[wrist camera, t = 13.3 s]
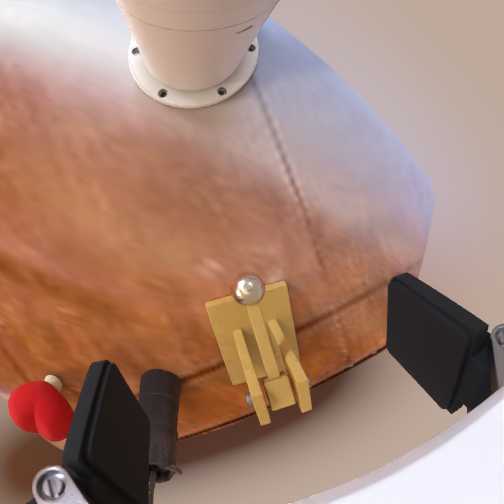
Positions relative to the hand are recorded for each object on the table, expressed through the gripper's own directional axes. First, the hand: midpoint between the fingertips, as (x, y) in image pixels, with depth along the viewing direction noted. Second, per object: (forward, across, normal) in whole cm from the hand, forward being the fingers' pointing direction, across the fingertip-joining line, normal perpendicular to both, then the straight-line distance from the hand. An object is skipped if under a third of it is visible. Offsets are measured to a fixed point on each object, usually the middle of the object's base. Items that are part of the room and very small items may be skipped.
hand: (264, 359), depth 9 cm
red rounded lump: (+22, +27, +15) cm, 38 cm away
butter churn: (+22, +11, +18) cm, 31 cm away
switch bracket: (+22, -2, +15) cm, 27 cm away
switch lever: (+16, -1, +11) cm, 20 cm away
